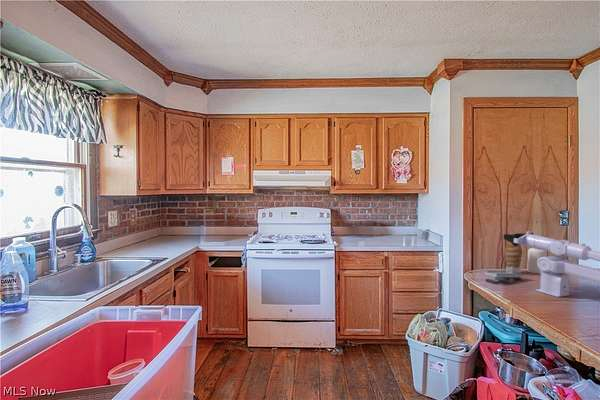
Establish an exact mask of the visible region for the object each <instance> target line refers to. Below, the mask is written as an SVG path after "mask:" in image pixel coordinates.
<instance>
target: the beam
mask: <svg viewBox="0 0 600 400" xmlns="http://www.w3.org/2000/svg"><path fill="white" fill-rule="evenodd" d="M505 272H506V270H500V269H499V270H485V271H484V275H488V276H491V277H494V278H495V277H520V278H524V273H523V272H519V273H505Z"/></svg>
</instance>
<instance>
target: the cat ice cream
mask: <svg viewBox="0 0 600 400" xmlns="http://www.w3.org/2000/svg"><path fill="white" fill-rule="evenodd" d="M521 246H522V245H521V244H519V243H517V246H514V245H513V244H512V243H510V242H509V241H507V243H506V247H505V248H504V257H505V259H504V260H505V262H506V264H505V265H506V267H511V266H515V267H517V268H520V266H521V262H522V257H523V249H522V247H521Z"/></svg>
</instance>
